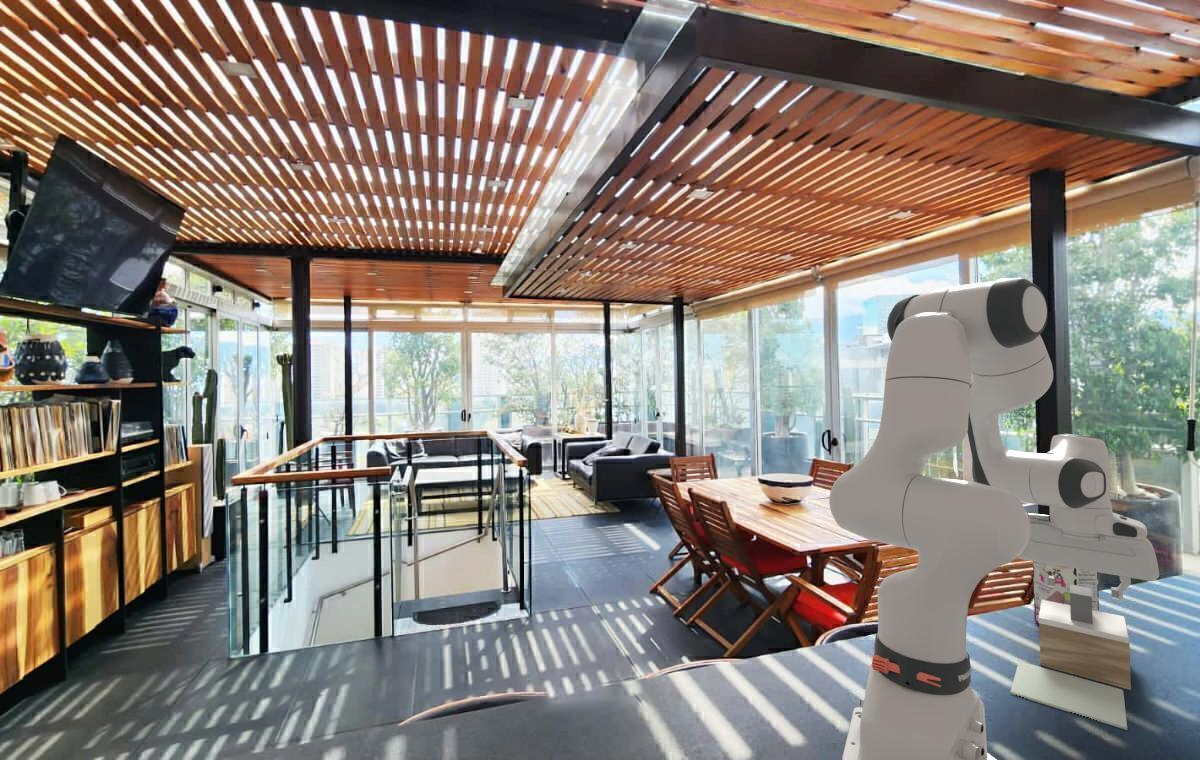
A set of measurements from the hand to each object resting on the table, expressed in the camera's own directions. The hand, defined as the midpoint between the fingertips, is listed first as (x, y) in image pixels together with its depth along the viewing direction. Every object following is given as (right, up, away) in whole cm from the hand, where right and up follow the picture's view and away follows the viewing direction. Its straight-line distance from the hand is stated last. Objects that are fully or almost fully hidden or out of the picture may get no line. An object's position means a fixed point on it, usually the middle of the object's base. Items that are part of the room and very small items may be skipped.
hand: (1082, 592), depth 99 cm
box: (0, -14, -1) cm, 14 cm away
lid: (0, -7, 0) cm, 7 cm away
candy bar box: (+8, -14, +12) cm, 20 cm away
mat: (-12, -13, -10) cm, 20 cm away
